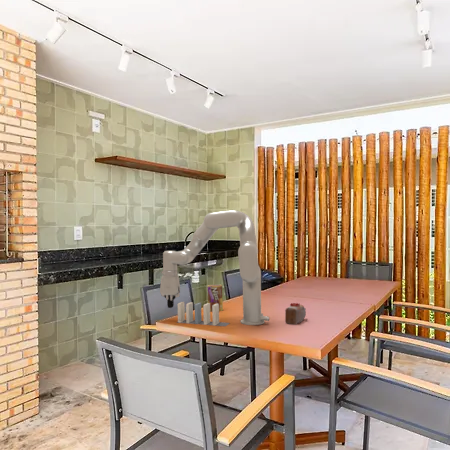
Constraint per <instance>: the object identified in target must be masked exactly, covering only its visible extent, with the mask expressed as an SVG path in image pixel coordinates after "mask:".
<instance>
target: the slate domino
mask: <svg viewBox="0 0 450 450" xmlns="http://www.w3.org/2000/svg"><path fill="white" fill-rule="evenodd" d="M202 317H203V316H202V302H198V303H195V304H194V320H195V324H194V325H199V324H198V323H200V322H202V321H203V318H202Z"/></svg>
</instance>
